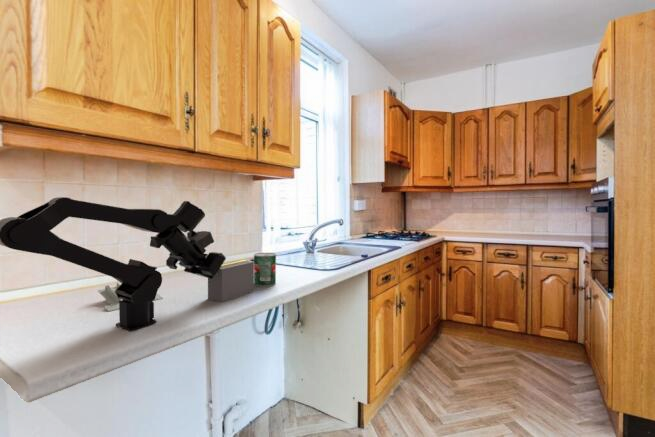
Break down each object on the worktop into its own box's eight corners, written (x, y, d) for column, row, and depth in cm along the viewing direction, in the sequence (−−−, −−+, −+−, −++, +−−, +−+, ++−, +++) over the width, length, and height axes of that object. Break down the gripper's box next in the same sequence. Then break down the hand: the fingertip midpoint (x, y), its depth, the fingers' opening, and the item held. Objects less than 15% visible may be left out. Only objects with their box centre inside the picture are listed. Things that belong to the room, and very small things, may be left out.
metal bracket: (88, 284, 95) (142, 275, 107) (87, 302, 96) (140, 291, 108) (111, 307, 87) (165, 295, 100) (108, 327, 88) (163, 312, 101)
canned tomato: (249, 283, 121) (250, 253, 120) (268, 280, 126) (269, 251, 125) (260, 288, 115) (260, 256, 114) (279, 284, 120) (280, 254, 119)
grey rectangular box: (222, 302, 98) (222, 267, 98) (207, 299, 101) (207, 265, 101) (253, 291, 111) (253, 260, 110) (240, 289, 113) (240, 259, 113)
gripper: (220, 223, 88) (248, 258, 98) (174, 221, 97) (205, 253, 107) (196, 257, 82) (229, 290, 92) (149, 251, 90) (184, 282, 101)
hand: (211, 277), depth 98 cm, fingers closed
